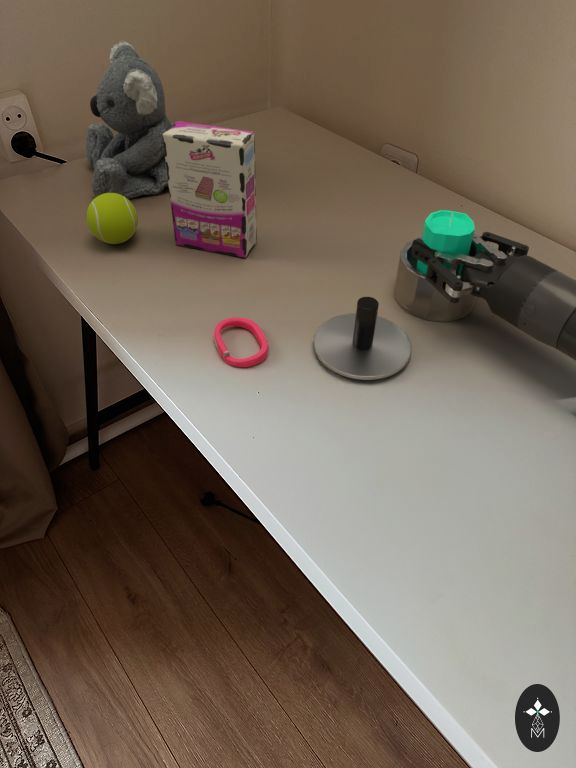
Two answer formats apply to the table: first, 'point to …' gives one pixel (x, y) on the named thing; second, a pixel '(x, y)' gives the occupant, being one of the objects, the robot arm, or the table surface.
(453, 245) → the candle
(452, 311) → the tin
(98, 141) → the koala plush
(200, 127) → the candy bar box
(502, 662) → the table surface
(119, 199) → the tennis ball
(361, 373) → the tin lid
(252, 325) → the fitness band
